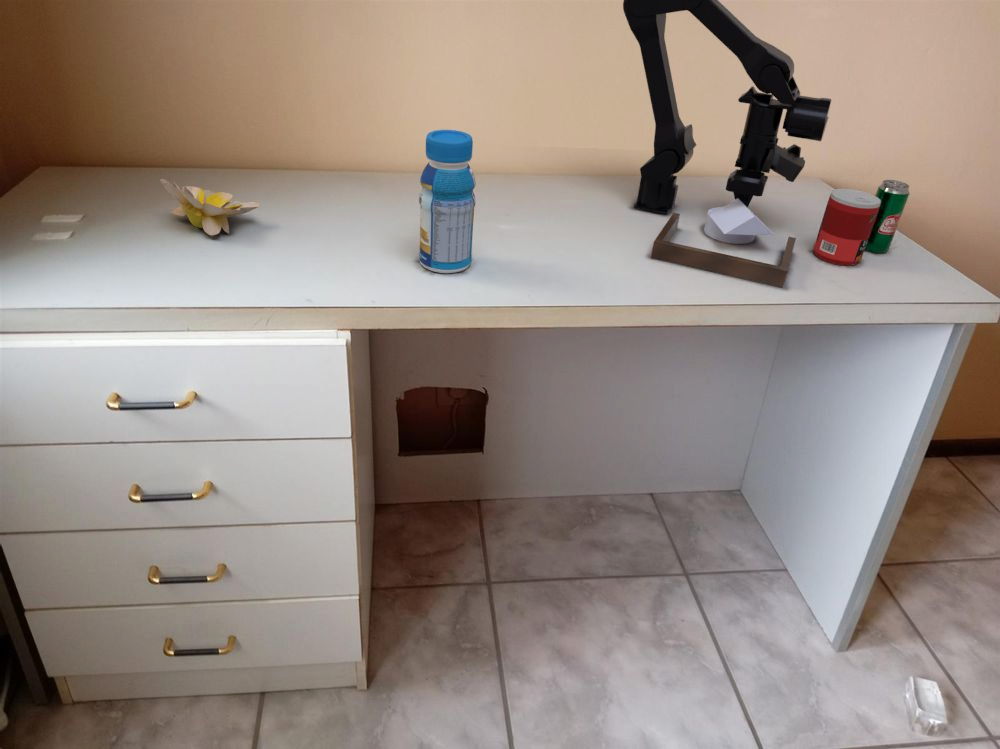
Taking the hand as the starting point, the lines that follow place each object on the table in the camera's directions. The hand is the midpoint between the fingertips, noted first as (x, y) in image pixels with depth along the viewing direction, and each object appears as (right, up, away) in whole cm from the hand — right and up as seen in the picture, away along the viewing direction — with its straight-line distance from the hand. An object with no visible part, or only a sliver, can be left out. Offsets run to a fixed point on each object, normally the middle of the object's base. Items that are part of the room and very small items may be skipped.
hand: (741, 215), depth 144 cm
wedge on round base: (-3, -5, -5) cm, 8 cm away
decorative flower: (-92, -5, -16) cm, 94 cm away
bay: (-7, -9, -12) cm, 16 cm away
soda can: (+22, -7, -4) cm, 24 cm away
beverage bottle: (-53, -12, -22) cm, 59 cm away
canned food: (+14, -9, -9) cm, 19 cm away
